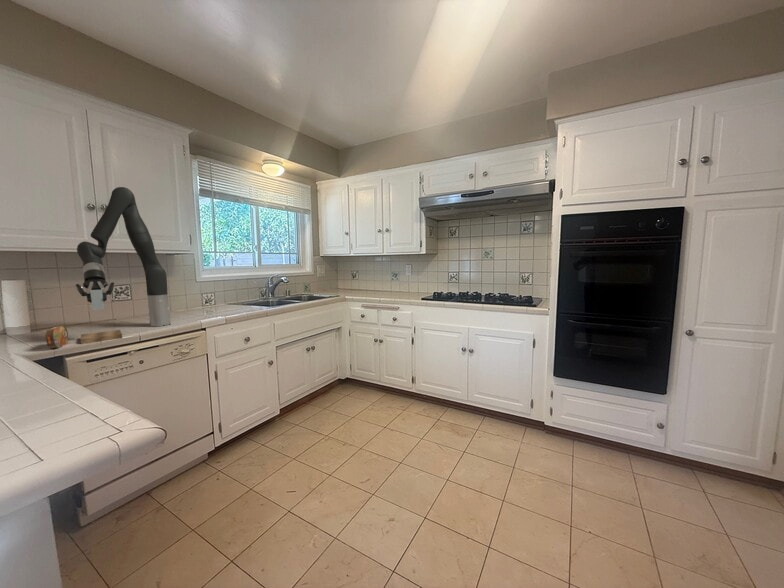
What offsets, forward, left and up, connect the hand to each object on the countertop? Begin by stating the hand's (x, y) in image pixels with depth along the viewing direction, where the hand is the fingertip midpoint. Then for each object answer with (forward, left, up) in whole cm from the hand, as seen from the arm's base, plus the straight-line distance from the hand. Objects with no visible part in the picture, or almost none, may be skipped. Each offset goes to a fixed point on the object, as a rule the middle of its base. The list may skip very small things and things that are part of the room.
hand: (97, 301), depth 148 cm
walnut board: (0, -2, -18) cm, 18 cm away
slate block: (0, -2, -4) cm, 4 cm away
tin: (+14, +3, -18) cm, 23 cm away
